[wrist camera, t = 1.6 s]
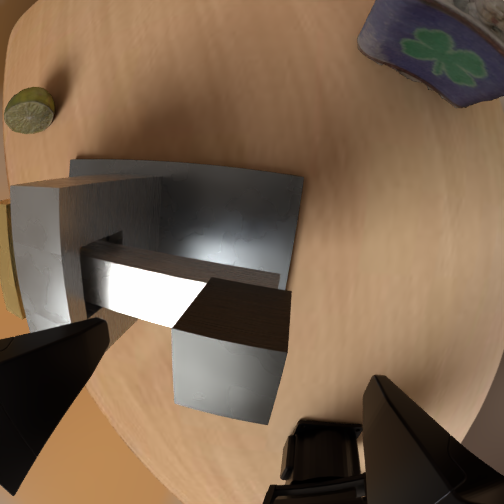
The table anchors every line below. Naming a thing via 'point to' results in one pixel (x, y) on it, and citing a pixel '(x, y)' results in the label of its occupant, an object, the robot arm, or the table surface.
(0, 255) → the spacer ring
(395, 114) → the table surface
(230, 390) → the shaft
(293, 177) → the block
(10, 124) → the lime
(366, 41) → the flask
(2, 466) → the robot arm
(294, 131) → the table surface
